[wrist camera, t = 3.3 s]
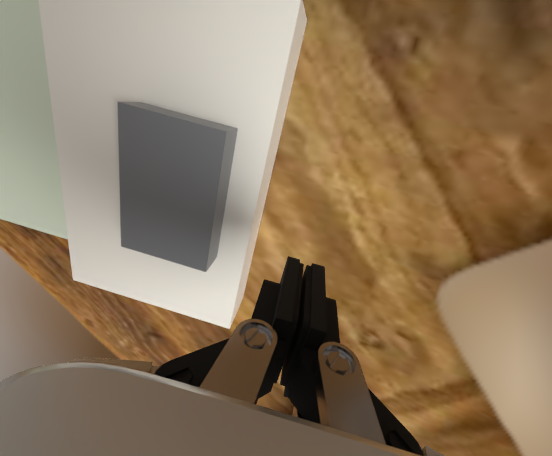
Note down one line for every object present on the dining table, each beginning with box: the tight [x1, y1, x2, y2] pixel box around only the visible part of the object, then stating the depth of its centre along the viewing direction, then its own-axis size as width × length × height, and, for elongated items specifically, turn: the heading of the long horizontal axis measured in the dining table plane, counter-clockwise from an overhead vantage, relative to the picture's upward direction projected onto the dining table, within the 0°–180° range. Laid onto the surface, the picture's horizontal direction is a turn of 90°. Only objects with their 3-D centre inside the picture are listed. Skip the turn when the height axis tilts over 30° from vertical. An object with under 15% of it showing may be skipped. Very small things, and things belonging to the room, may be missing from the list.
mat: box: [0, 0, 68, 239], centre depth 22 cm, size 20×10×1 cm, turn 167°
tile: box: [118, 102, 238, 272], centre depth 17 cm, size 9×6×2 cm, turn 167°
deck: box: [38, 0, 307, 329], centre depth 20 cm, size 22×14×4 cm, turn 167°
